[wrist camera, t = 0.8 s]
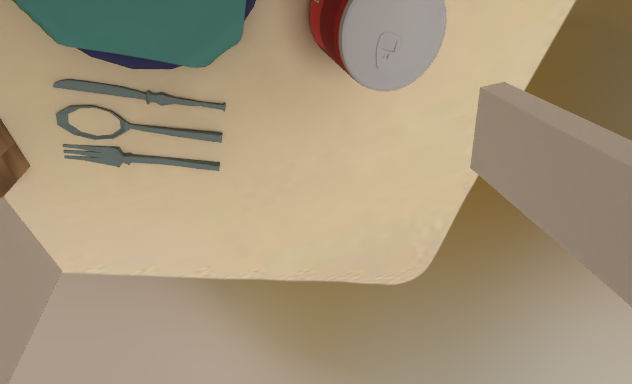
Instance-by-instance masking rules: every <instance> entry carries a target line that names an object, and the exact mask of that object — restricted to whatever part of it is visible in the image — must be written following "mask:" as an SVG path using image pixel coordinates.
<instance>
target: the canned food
mask: <svg viewBox="0 0 632 384" xmlns="http://www.w3.org/2000/svg"><path fill="white" fill-rule="evenodd" d="M310 26H311V30H312V34H313V36H314V38H315V41H316V42H317V44H318V45H319V47H320V48H321V49H322V50H323V51H324V52H325V53H326V54H327V55H328V56H330V57H331V58H332V59H333V60H334V61H335V62H336V63H337V64H338V65H339V66H340V67H341V68H342V69H343V70H344V71H345V72H347V73H348V74H349V75H350V76H351V77H352V78H353V79H354V80H356V81H357V82H358V83H360V84H361V85H363V86H365V87H367V88H369V89H372V90H376V91H385V92H386V91H393V90H397V89H400V88H403V87H405V86H407V85H409V84H411V83H412V82H414V81H415V80H416V79H418V78H419V77H420V76H421V75H422V74H423V73H424V72H425V71H426V70H427V69H428V68H429V66H430V65H431V64H432V62H433V60H434V59H435V57H436V56H437V54H438V51H439V49H440V47H441V45H442V41H443V38H444V35H445V28H446V7H445V2H444V0H312V2H311V7H310Z"/></svg>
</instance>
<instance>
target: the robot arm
mask: <svg viewBox="0 0 632 384" xmlns="http://www.w3.org/2000/svg"><path fill="white" fill-rule="evenodd" d="M470 168H471V169H472V170H474V171H475V172H476V173H477V174H478V175H479V176H481V177H482V178H483V179H484V180H485V181H486V182H487V183H489V184H490V185H491V186H492V187H493V188H495V189H496V190H497V191H498V192H499V193H500V194H501V195H503V196H504V197H505V198H506V199H507V200H508V201H510V202H511V203H512V204H513V205H514V206H515V207H517V208H518V209H519V210H520V211H521V212H522V213H523V214H525V215H526V216H527V217H528V218H529V219H530V220H532V221H533V222H534V223H535V224H536V225H537V226H539V227H540V228H541V229H542V230H543V231H544V232H546V233H547V234H548V235H549V236H550V237H551V238H552V239H554V240H555V241H556V242H557V243H558V244H559V245H561V246H562V247H563V248H564V249H565V250H567V251H568V252H569V253H570V254H571V255H572V256H573V257H574V258H576V259H577V260H578V261H579V262H580V263H581V264H583V265H584V266H585V267H586V268H587V269H588V270H590V271H591V272H592V273H593V274H594V275H595V276H597V277H598V278H599V279H600V280H601V281H602V282H603V283H605V284H606V285H607V286H608V287H609V288H610V289H612V290H613V291H614V292H615V293H616V294H617V295H619V296H620V297H621V298H622V299H623V300H624V301H626V302H627V303H628V304H629V305H630V306H631V307H632V141H631V140H629V139H627V138H624V137H622V136H620V135H618V134H616V133H614V132H611V131H609V130H607V129H605V128H602V127H601V126H598V125H596V124H594V123H592V122H590V121H588V120H585V119H583V118H581V117H579V116H577V115H575V114H572V113H570V112H568V111H566V110H564V109H562V108H560V107H557V106H555V105H553V104H551V103H549V102H546V101H544V100H542V99H540V98H538V97H536V96H533V95H531V94H529V93H527V92H525V91H523V90H521V89H518V88H516V87H514V86H512V85H510V84H508V83H505V82H502V83H498V84H493V85H489V86H485V87H480V93H479V101H478V109H477V118H476V126H475V134H474V142H473V150H472V158H471V166H470ZM61 273H62V270H61V269H60V268H59V266H58V265H57V264H56V263H55V261H54V260H53V259H52V258H51V256H50V255H49V254H48V253H47V251H46V250H45V249H44V247H43V246H42V245H41V244H40V242H39V241H38V240H37V239H36V237H35V236H34V235H33V234H32V232H31V231H30V230H29V229H28V227H27V226H26V225H25V223H24V222H23V221H22V220H21V218H20V217H19V216H18V215H17V213H16V212H15V211H14V210H13V208H12V207H11V206H10V205H9V203H8V202H7V201H6V199H5V198H4V197H1V198H0V384H9V381H10V380H11V377H12V375H13V373H14V371H15V369H16V367H17V365H18V363H19V361H20V359H21V357H22V354H23V352H24V350H25V348H26V346H27V344H28V342H29V340H30V338H31V336H32V334H33V331H34V329H35V327H36V325H37V323H38V321H39V319H40V317H41V315H42V313H43V311H44V308H45V306H46V304H47V302H48V300H49V298H50V296H51V294H52V292H53V290H54V288H55V285H56V283H57V281H58V279H59V277H60V275H61Z"/></svg>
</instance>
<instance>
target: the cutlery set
mask: <svg viewBox="0 0 632 384" xmlns="http://www.w3.org/2000/svg"><path fill="white" fill-rule="evenodd" d="M13 1H14V2H15V3H16V4H17V5H18V6H19V8H20V9H21V10H23V11H24V12H25V13H27V14H28V15H29V16H30V17H31V19H32V20H33V21H34V22H35V23H37V24H38V25H39V26H41V28H42V29H43V30H44V31H45V33H47V34H48V35H49V36H50V37H51V38H53V39H54V41H55V42H56V43H58V44H61V45H64V46H69V47H74V48H77V49H79V50H81V51H83V52H84V53H86V54H88V55H89V56H91V57H94V58H98V59H101V60H104V61H108V62H111V63H114V64H118V65H121V66H125V67H128V68H131V69H173V68H176V67H180V66H187V67H196V68H197V67H205V66H207V65H209V64H211V63H212V62H213V61H214V60H215V59H216V58H217V57H218V56H220V55H221V54H222V53H224V52H225V51H226V50H228V49H229V48H231V47H233V46H234V45H236V44H237V43H238V42H239V41H240V40H241V36H242V33H243V25H244V20H245V19H246V17H247V16H248V14H249V13H250V11H251V10H252V8H253V7H254V5H255V1H256V0H13ZM53 87H56V88H63V89H71V90H78V91H85V92H93V93H100V94H108V95H115V96H122V97H130V98H137V99H145V100H146V102H147V104H149V103H150V102H156V103H158V104H160V105H169V104H181V105H189V106H203V107H209V108H215V109H221V110H223V111H225V106H226V103H224V104H215V103H205V102H198V101H193V100H188V99H180V98H174V97H172V96H170V95H167V94H165V93H158V94H155V93H152V92H151V91H150V90H148V92H147V93H144V92H141V91H138V90H134V89H130V88H126V87H122V86H116V85H110V84H104V83H97V82H89V81H82V80H74V79H66V80H61V81H58V82H56V83H55V84H54V85H53ZM79 108H98V109H101V110H104V111H108V112H110V113H111V114H113V115H114V116H115V117H117V118H118V119H119V120H120V126H121V129H120V130H118V131H117V132H115V133H113V134H112V135H103V136H95V135H91V134H87V133H83V132H80V131H79V130H78V129H76V128H75V127H73V126H72V125H70V124H69V123H68V114H69V113H71V112H73V111H75V110H77V109H79ZM56 117H57V124H58V125H59V126H61V127H62V128H64V129H66V130H67V131H69V132H70V133H72V134H74V135H78V136H82V137H86V138H90V139H94V140H97V139H114V138H115V137H117V136H119V135H121V134H123V133H125V132H126V131H128V130H129V129H136V130H141V131H147V132H153V133H160V134H165V135H171V136H177V137H185V138H192V139H199V140H206V141H213V142H220V143H222V133H215V132H201V131H191V130H180V129H170V128H162V127H153V126H144V125H137V124H130V123H128V122H125V121H124V120H122V119H121V118H119V117H118V116H117V115H115V114H114V113H113V112H112V111H109V110H105V109H102V108H99V107H95V106H79V107H69V108H67V109H65V110H63V111H61V112H59V113H57V114H56ZM63 147H68V148H77V149H83V150H89V151H75V150H64V153H73V154H80V155H87V156H92V157H86V156H64V157H65V158H68V159H78V160H85V161H90V162H96V163H102V164H107V165H113V166H117V167H120V165H121V164H122V163H123V162H124V163H126V164H128V165H129V164H130V163H131V162H134V163H150V164H165V165H174V166H182V167H190V168H196V169H206V170H216V171H219V167H220V162H209V161H198V160H191V159H180V158H169V157H159V156H143V155H132V154H131V153H123V151H122V150H121V149H120V147H107V146H89V145H67V144H63Z"/></svg>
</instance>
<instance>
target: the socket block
mask: <svg viewBox="0 0 632 384" xmlns="http://www.w3.org/2000/svg"><path fill="white" fill-rule="evenodd" d="M29 167H30V165H29V163H28V162H27V160H26V159H25V157H24V156H23V154H22V152H21V151H20V149H19V148H18V146H17V144H16V143H15V141H14V140H13V138H12V137H11V135H10V133H9V132H8V130H7V129H6V127H5V126H4V124H3V122H2V121H1V119H0V198H1V197H3V196H4V195H5V194H6V193H7V192H8V191H9V190H10V188H11V187H12V186H13V185H14V184H15V183H16V182H17V180H18V179H19V178H20V177H21V176H22V175H23V174H24V172H25V171H26V170H27V169H28V168H29Z"/></svg>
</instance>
